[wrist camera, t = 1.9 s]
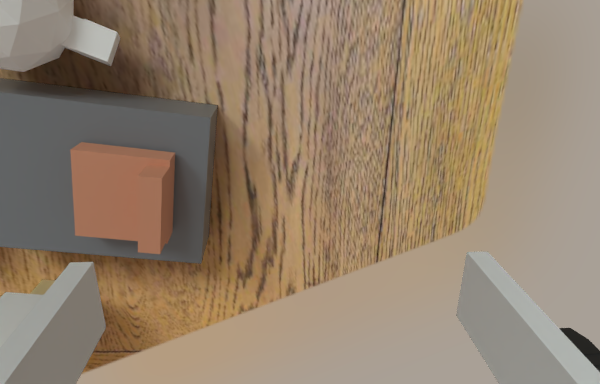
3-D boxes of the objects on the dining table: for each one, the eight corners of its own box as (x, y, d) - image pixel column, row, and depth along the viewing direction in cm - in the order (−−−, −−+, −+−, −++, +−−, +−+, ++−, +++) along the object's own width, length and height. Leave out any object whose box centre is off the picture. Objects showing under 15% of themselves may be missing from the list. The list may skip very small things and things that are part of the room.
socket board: (14, 219, 41) (-19, 245, 36) (-2, 77, 36) (-42, 87, 31) (208, 236, 43) (201, 263, 38) (217, 105, 38) (210, 117, 33)
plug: (33, 320, 45) (-35, 410, 35) (28, 268, 43) (-47, 346, 33) (98, 325, 46) (49, 413, 36) (96, 273, 43) (43, 352, 33)
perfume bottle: (-61, 49, 33) (103, 107, 37) (-140, 20, 24) (84, 100, 28) (-26, -60, 33) (136, 9, 37) (-93, -129, 24) (127, -28, 28)
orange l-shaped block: (85, 224, 36) (61, 251, 31) (81, 142, 33) (54, 160, 29) (172, 232, 36) (159, 260, 32) (175, 152, 34) (162, 171, 30)
